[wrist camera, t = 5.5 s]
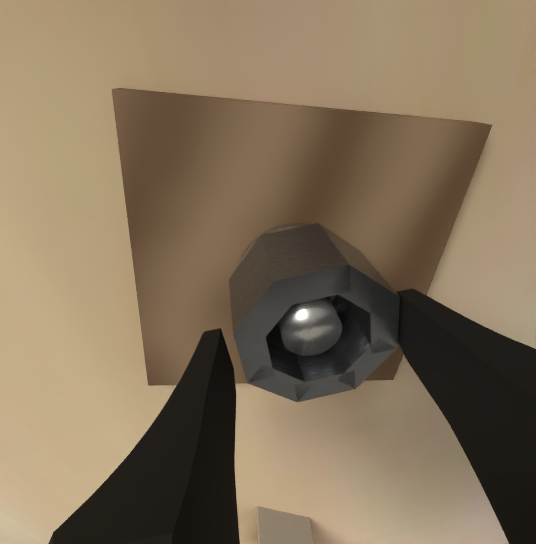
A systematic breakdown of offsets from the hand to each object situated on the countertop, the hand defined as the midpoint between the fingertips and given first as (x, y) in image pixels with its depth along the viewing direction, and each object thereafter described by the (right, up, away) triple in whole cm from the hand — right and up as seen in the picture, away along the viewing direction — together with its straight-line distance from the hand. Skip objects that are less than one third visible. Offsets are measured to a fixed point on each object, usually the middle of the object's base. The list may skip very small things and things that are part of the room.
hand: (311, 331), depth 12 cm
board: (-1, +2, +4) cm, 5 cm away
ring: (0, +1, +2) cm, 3 cm away
